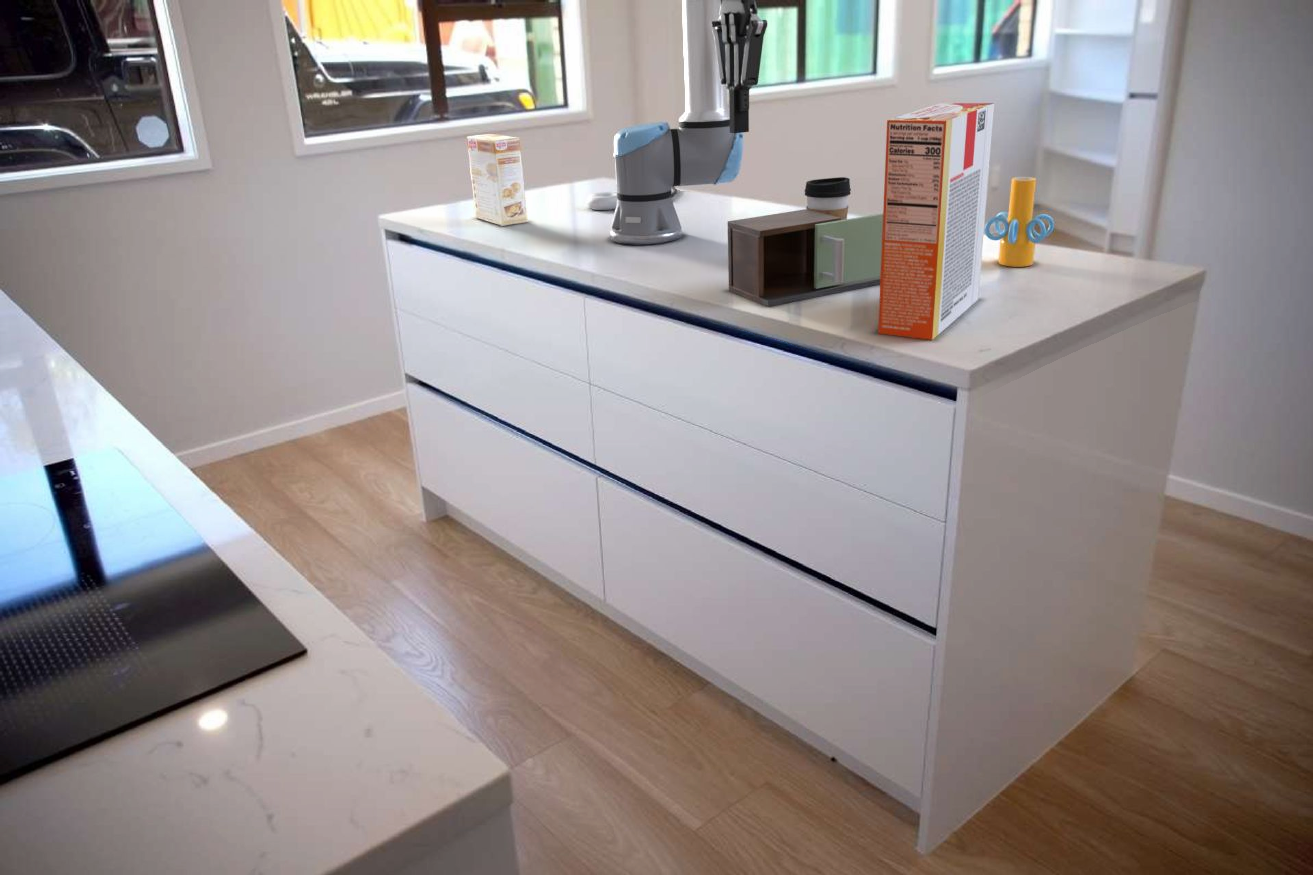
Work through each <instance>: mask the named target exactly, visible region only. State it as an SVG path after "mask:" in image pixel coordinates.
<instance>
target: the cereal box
mask: <svg viewBox="0 0 1313 875" xmlns="http://www.w3.org/2000/svg"><path fill="white" fill-rule="evenodd" d="M994 111H995V103H994V102H991V103H990V102H985V103H984V102H940V103H937V104H934V105H930V106H927V107H924V108H920V109H917V110H915V111H911V112H909V113H905V114H902V115H899V116H896V117H892V118H890V119H887V120H886V139H885V162H884V163H885V165H884V188H883V189H884V190H883V207H882V208H883V210H882V212H883V231H882V255H881V279H880V284H879V304H878V306H879V307H878V330H877V333H878V334H882V335H889V336H890V335H891V336H897V337H906V338H913V339H920V340H930V341H933V340H934V339H935V338H936V337H937V336H939V335H940V334H941V333H942V332H943V331H944V330H946V328H948V327H949V326H950V325H951V324H952V323H953V322H954V321H956V320H957V319H958V318H959V317H960V316H961V315H963V314H964V313H965V312H966V311H967V310H968V309H969V308H971V307H972V306H973V305H974V304H975V303H976V302H977V301H978V300H979V295H980V294H979V293H980V281H981V270H982V257H983V245H984V234H985V224H986V208H987V197H988V186H989V172H990V160H991V147H992V137H993V136H992V135H993V126H994V125H993V124H994V113H995V112H994Z"/></svg>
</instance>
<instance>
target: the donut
mask: <svg viewBox="0 0 1313 875" xmlns="http://www.w3.org/2000/svg"><path fill="white" fill-rule="evenodd" d="M586 204H587V207H588V208H589V209H592V210H594V211H612V210H616V206H617V191H601V192H595V193H592V194H590V195H589V196H588V197H587V198H586Z"/></svg>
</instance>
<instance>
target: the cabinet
mask: <svg viewBox="0 0 1313 875" xmlns="http://www.w3.org/2000/svg"><path fill="white" fill-rule="evenodd" d="M839 220H841V218H840V217H836V216H832V215H828V214H823V213H819V212H815V211H811V210H807V209H806V208H805V209H798V210H792V211H786V212H778V213H772V214H766V215H759V216H753V217H746V218H739V219H733V220H728V221H727V266H728V268H727V269H728V272H727V273H728V292H730V293H733V294H735V295H738V296H740V297H743V298H745V299H748V300H750V301H752V302H755V303H758V304H760V305H763V306H765V307H767V308H768V307H769V308H770V307H774V306H778V305H783V304H789V303H794V302H799V301H803V300H808V299H809V300H810V299H814V298H818V297H824V296H829V295H833V294H839V293H843V292H848V291H853V290H858V289H864V288H868V287H873V286H874V287H875V286H880V279H881V276H879V277H874V278H869V279H864V280H859V281H854V282H849V283H844V284H839V285H834V286H828V287H823V288H818V289H816V288H814V254H815V224H821V223H827V222H833V221H839Z"/></svg>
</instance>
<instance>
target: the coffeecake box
mask: <svg viewBox="0 0 1313 875" xmlns="http://www.w3.org/2000/svg"><path fill="white" fill-rule="evenodd" d="M520 139H521V138H520V137H518V136H517V137H516V136H510V135H502V134H495V133H485V134H484V133H483V134H475V135H467V136H466V144H467V153H468V160H469V169H470V170H469V171H470V179H471V187H472V196H473V204H474V213H475V219H479V220H482V221H486V222H489V223H492V224H494V225H498V226H502V227H505V226H512V225H518V224H524V223H528V222H529V220H528V214H527V201H526V193H525V180H524V171H523V161H522V152H521V150H522V149H521V142H520V141H521V140H520Z"/></svg>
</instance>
